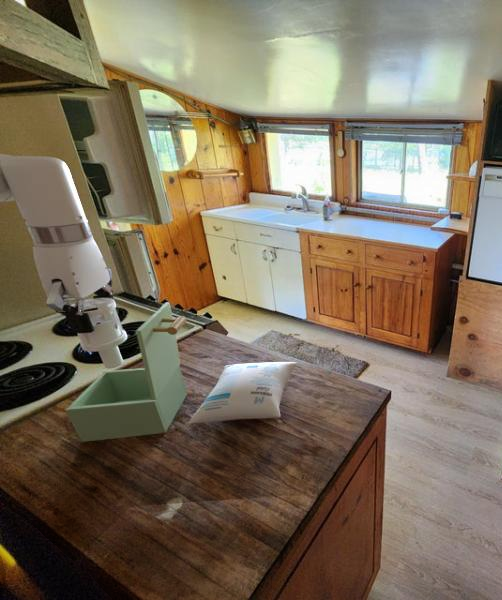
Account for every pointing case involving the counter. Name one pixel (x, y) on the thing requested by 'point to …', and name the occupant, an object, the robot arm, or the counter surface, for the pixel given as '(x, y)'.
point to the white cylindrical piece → (104, 332)
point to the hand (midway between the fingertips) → (97, 321)
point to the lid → (160, 347)
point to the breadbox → (125, 406)
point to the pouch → (246, 392)
